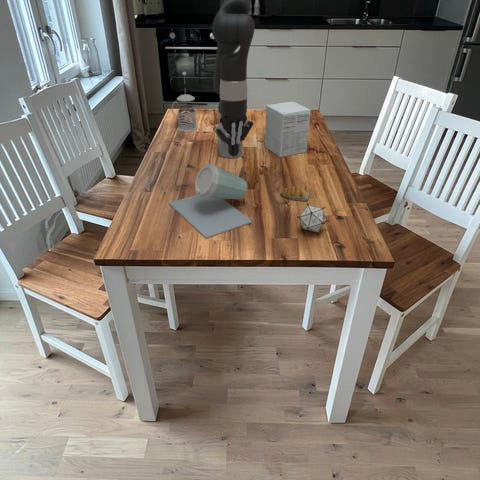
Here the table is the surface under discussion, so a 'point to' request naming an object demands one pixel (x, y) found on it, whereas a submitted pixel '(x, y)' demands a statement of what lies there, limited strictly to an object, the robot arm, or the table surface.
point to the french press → (186, 113)
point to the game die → (312, 218)
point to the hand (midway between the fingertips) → (233, 155)
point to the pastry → (296, 193)
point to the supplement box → (287, 128)
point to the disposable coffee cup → (219, 183)
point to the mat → (210, 214)
